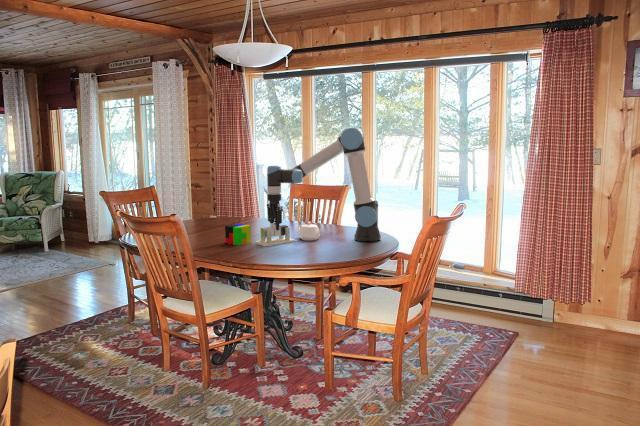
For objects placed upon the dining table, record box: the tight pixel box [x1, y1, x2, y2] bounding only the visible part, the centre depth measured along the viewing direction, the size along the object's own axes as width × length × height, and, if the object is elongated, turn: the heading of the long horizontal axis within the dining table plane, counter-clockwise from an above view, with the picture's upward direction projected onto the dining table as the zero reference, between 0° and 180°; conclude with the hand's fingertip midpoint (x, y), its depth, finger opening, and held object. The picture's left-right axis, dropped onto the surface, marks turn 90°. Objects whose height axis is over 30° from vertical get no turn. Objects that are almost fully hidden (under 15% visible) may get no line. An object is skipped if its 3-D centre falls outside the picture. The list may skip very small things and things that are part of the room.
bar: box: [260, 224, 289, 239], centre depth 293 cm, size 4×16×5 cm, turn 126°
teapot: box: [297, 221, 323, 241], centre depth 302 cm, size 20×12×10 cm, turn 45°
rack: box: [254, 227, 296, 248], centre depth 293 cm, size 10×20×8 cm, turn 126°
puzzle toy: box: [224, 223, 252, 247], centre depth 293 cm, size 10×10×10 cm
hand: (275, 234), depth 293 cm, fingers closed on bar, 3 cm apart
